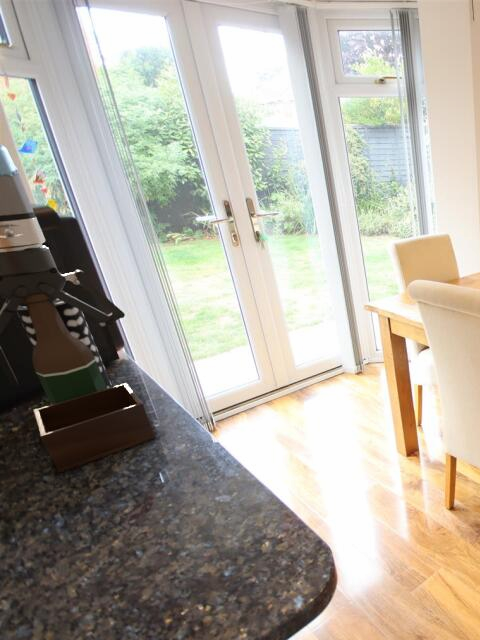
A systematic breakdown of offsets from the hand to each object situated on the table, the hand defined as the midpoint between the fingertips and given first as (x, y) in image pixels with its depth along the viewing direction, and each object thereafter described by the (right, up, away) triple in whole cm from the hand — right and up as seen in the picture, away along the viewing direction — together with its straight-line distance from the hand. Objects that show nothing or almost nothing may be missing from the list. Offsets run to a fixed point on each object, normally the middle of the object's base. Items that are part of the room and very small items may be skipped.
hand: (68, 370), depth 81 cm
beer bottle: (0, -9, +4) cm, 10 cm away
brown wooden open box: (+9, -12, -3) cm, 15 cm away
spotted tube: (-7, -7, +11) cm, 15 cm away
